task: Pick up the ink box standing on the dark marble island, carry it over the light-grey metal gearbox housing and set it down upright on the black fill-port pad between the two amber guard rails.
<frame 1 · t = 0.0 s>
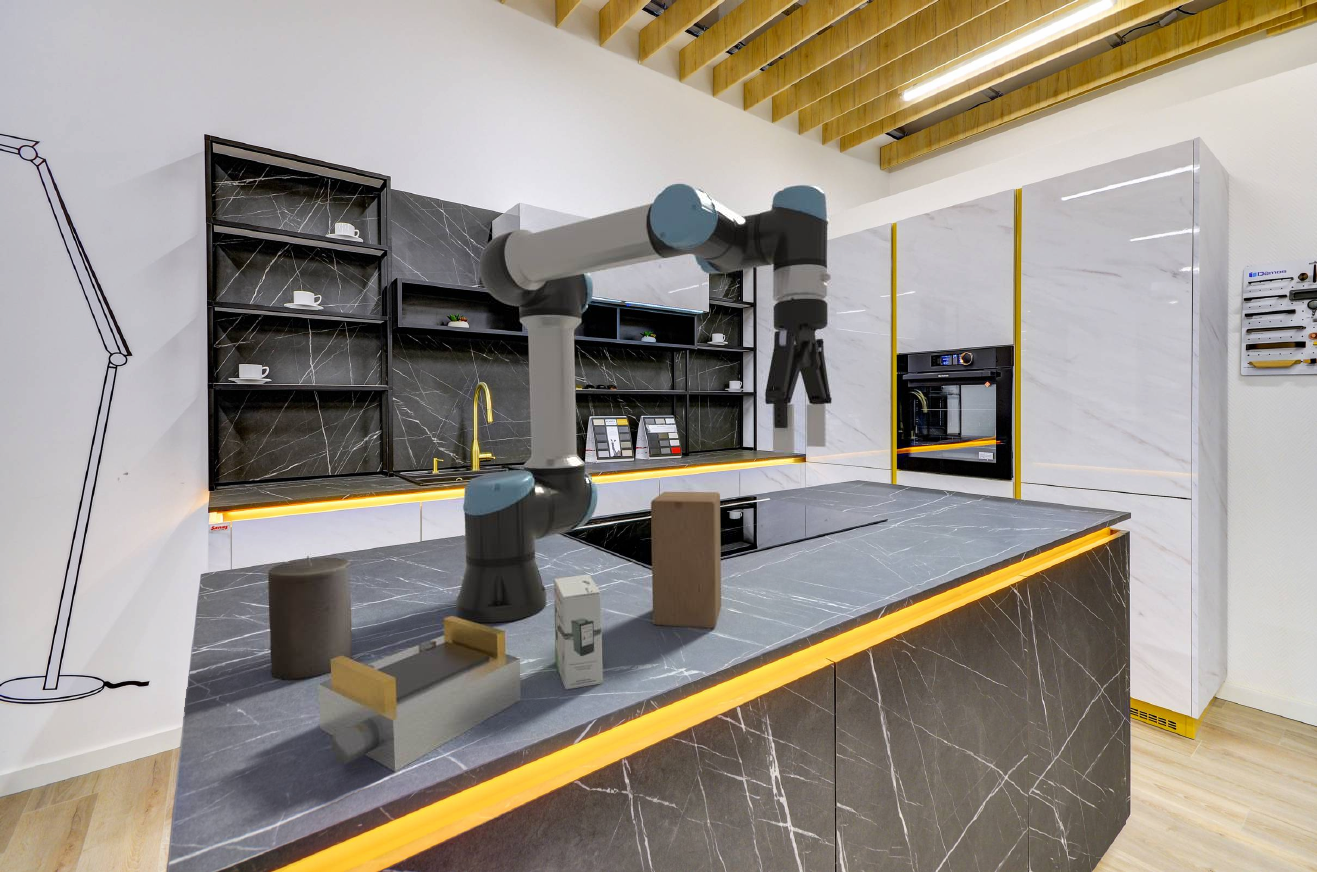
hand: (801, 449, 83), 28 cm above the counter, fingers open, 13 cm apart
gearbox housing: (424, 713, 65), on the counter
wooden block: (688, 617, 95), on the counter
pillar candle: (314, 665, 79), on the counter
ink box: (578, 674, 75), on the counter
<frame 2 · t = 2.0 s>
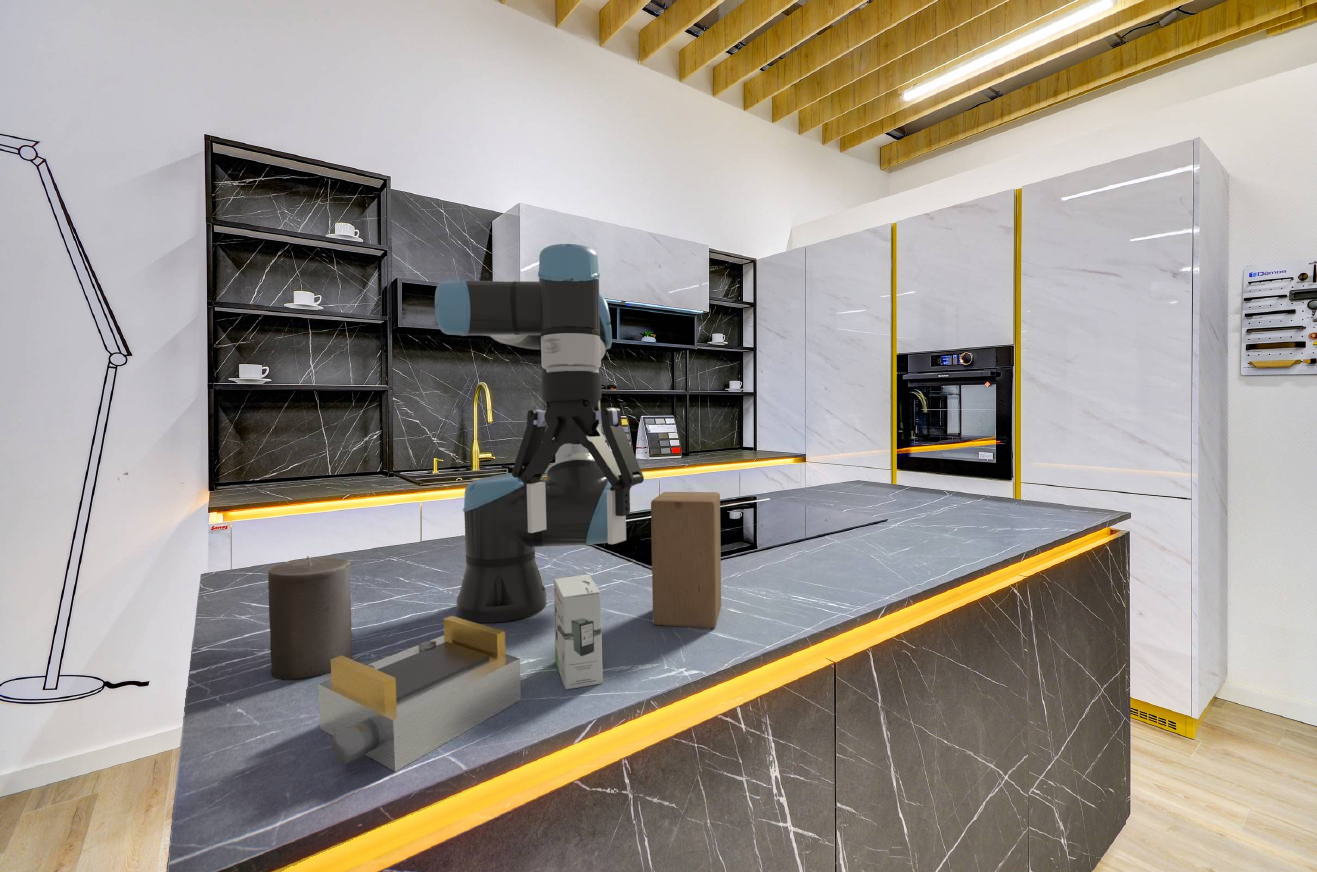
hand: (575, 536, 74), 18 cm above the counter, fingers open, 13 cm apart
nothing on the counter moved.
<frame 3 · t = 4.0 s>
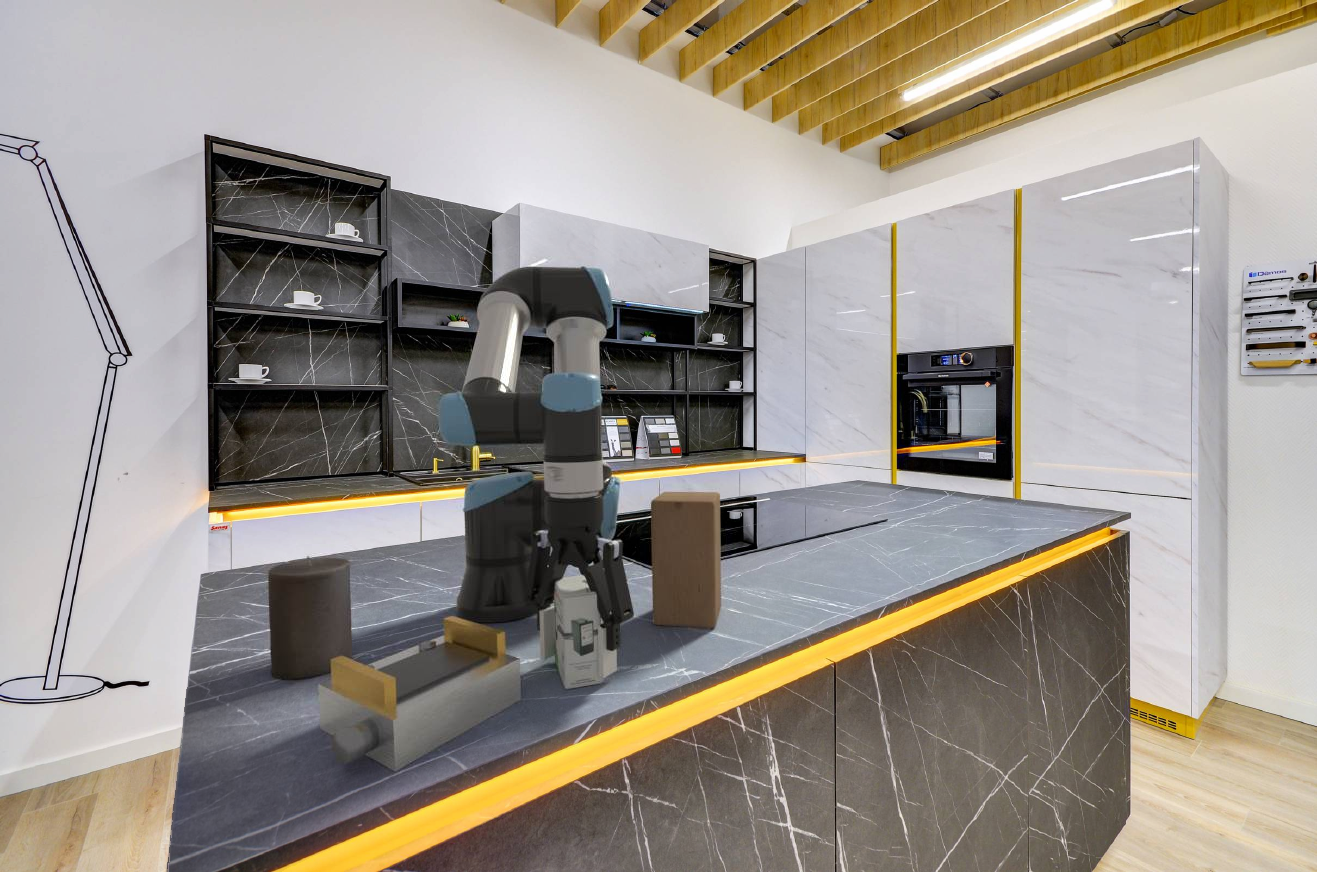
hand: (577, 664, 75), 1 cm above the counter, fingers closed on ink box, 9 cm apart
ink box: (577, 673, 75), on the counter, touching gripper
everything else where it was.
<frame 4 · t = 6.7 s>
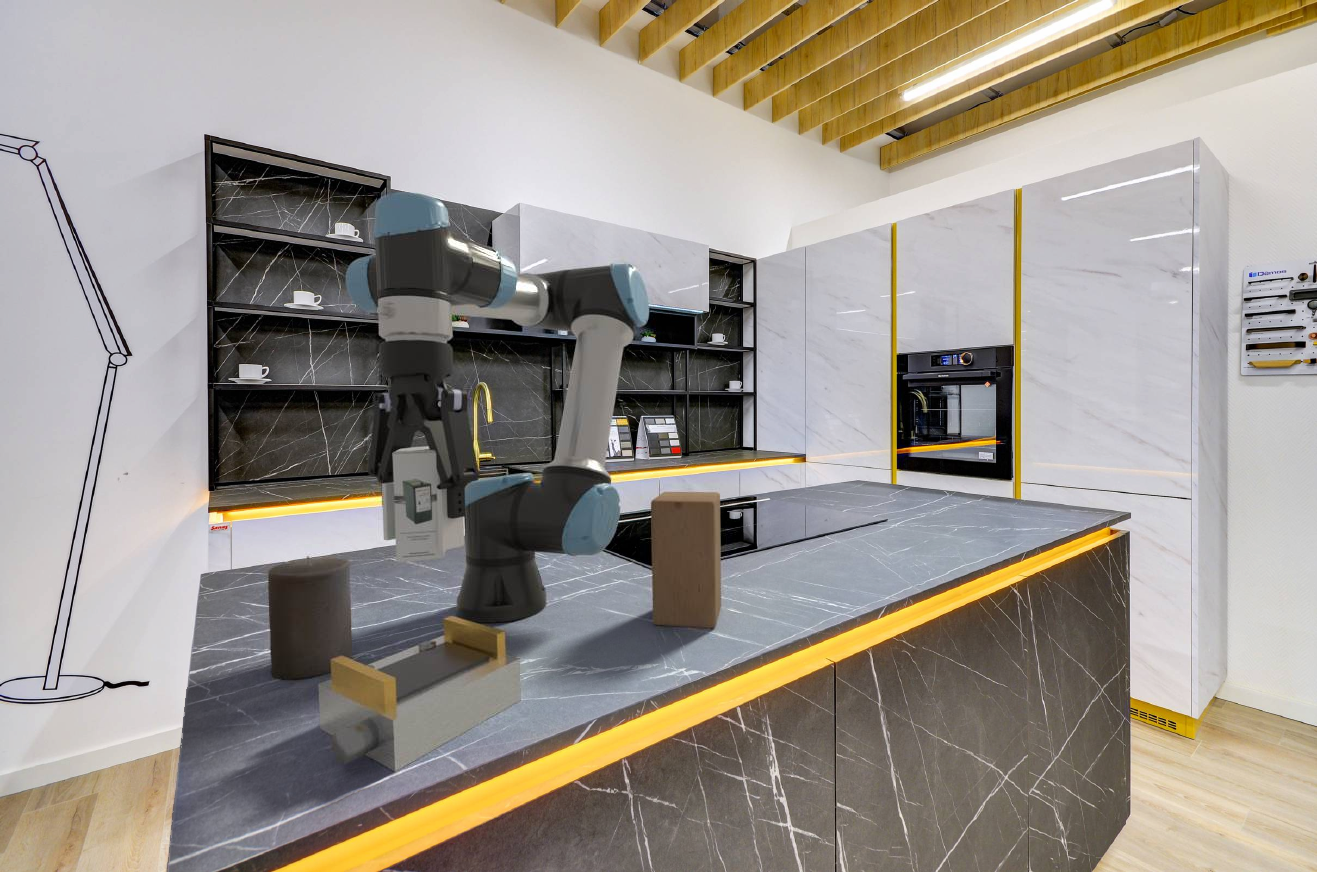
hand: (422, 542, 65), 20 cm above the counter, fingers closed on ink box, 9 cm apart
ink box: (422, 553, 65), point 18 cm above the counter, touching gripper
everything else where it was.
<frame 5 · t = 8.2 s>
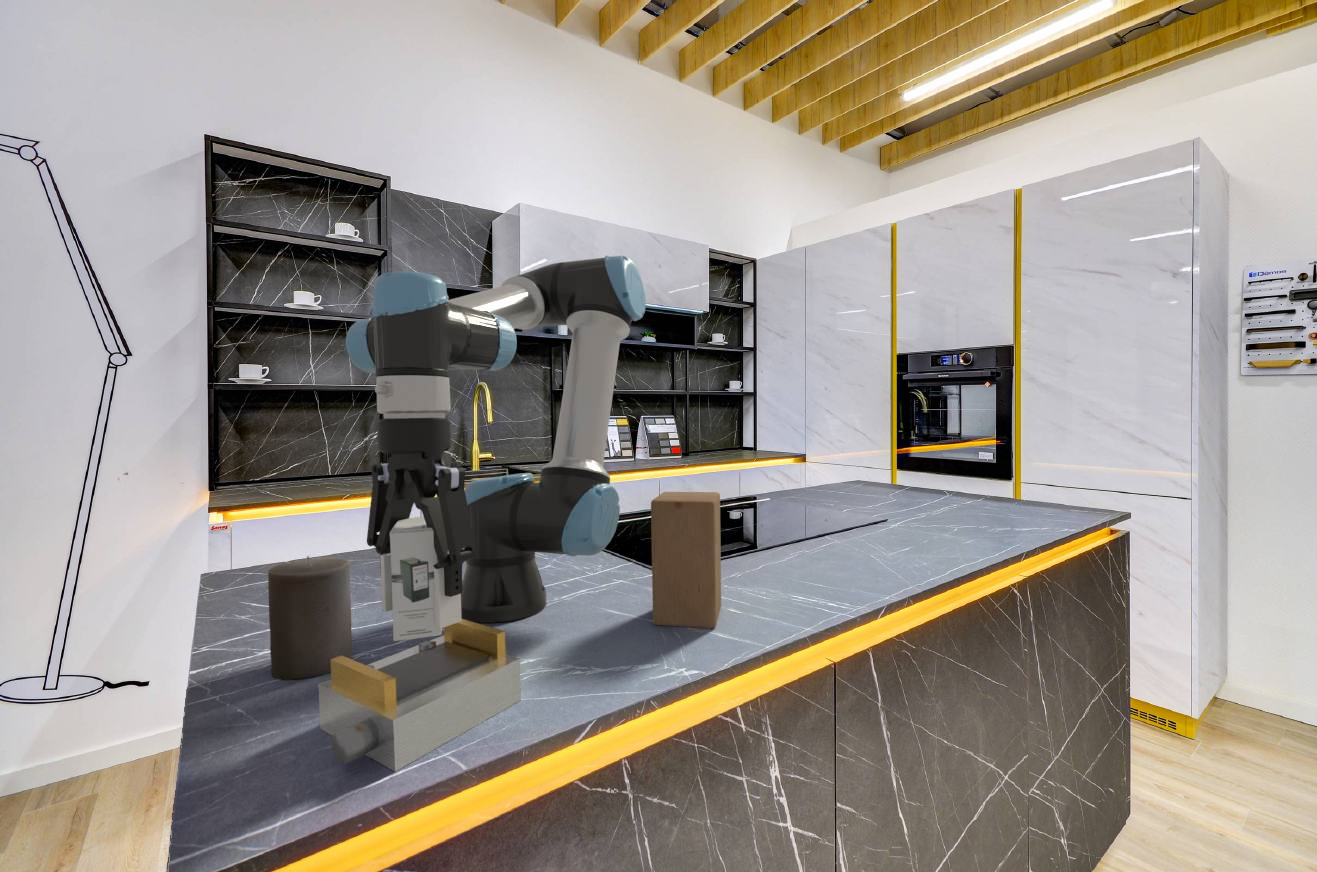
hand: (420, 615, 65), 11 cm above the counter, fingers closed on ink box, 9 cm apart
ink box: (420, 627, 65), point 10 cm above the counter, touching gripper
everything else where it was.
when the fingers open (8 cm above the counter, at t = 9.4 s): ink box drops 1 cm, resting on gearbox housing.
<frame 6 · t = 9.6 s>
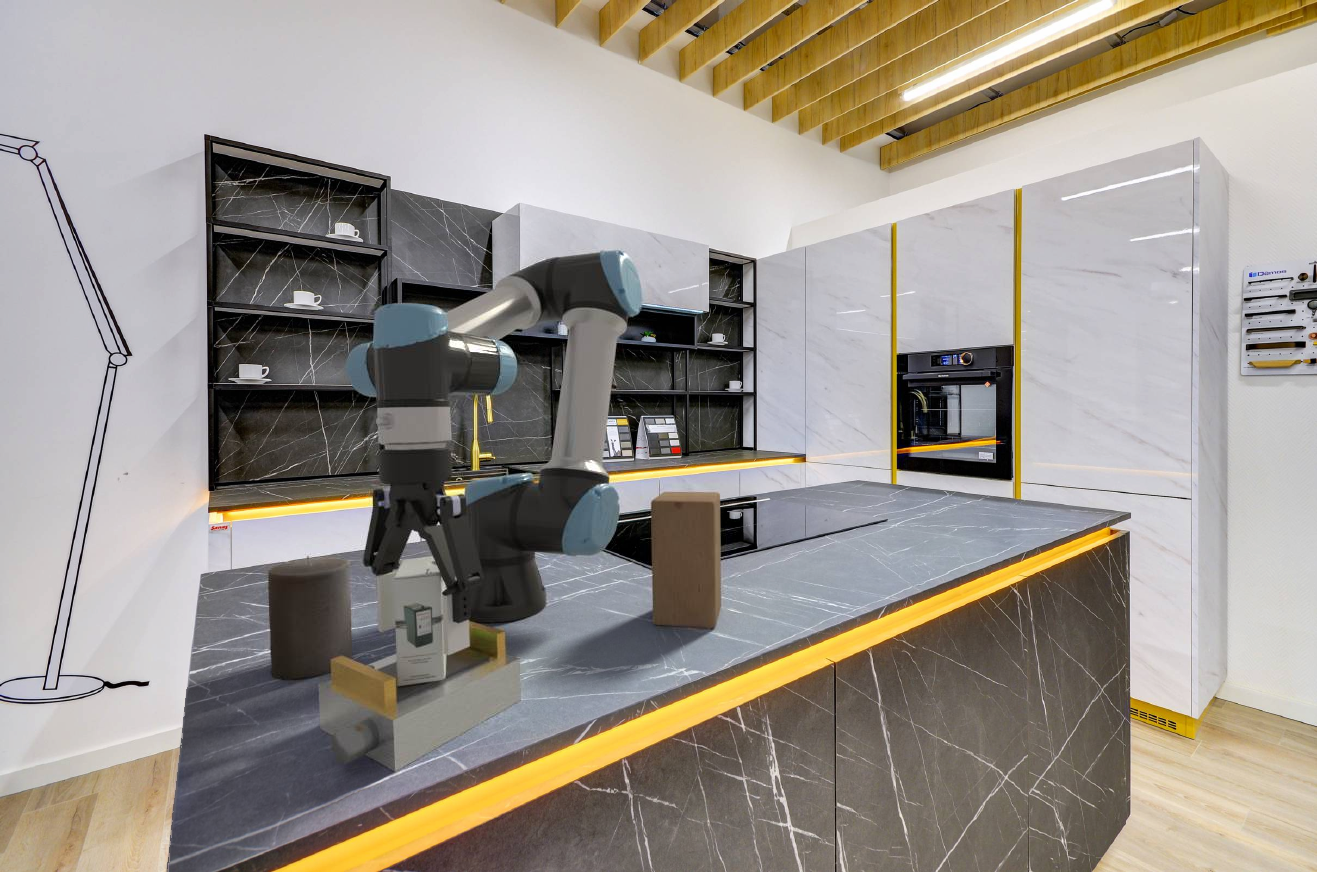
hand: (422, 638, 65), 9 cm above the counter, fingers open, 11 cm apart
ink box: (424, 668, 65), point 5 cm above the counter, touching gearbox housing
everything else where it was.
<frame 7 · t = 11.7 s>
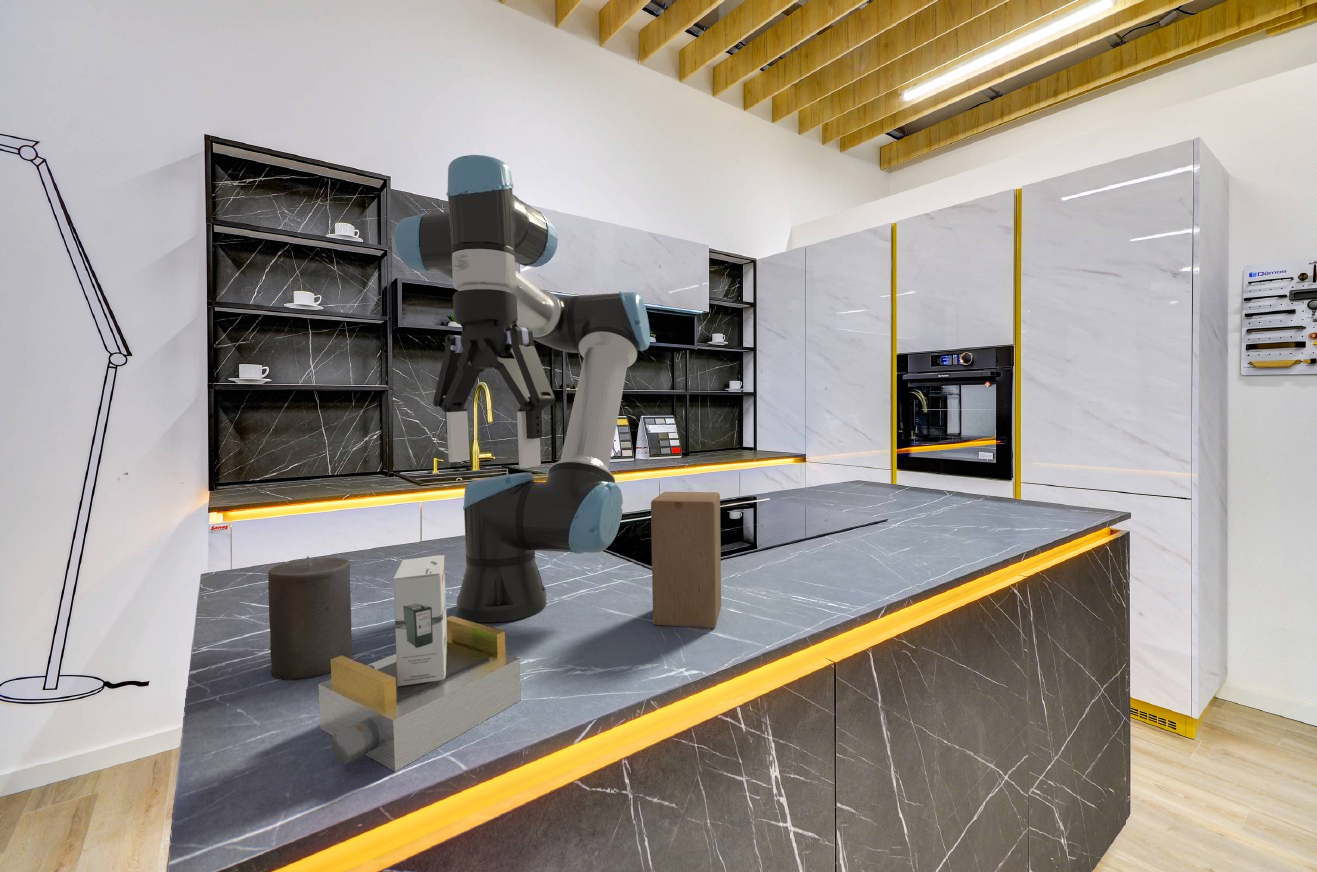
hand: (492, 463, 72), 28 cm above the counter, fingers open, 13 cm apart
nothing on the counter moved.
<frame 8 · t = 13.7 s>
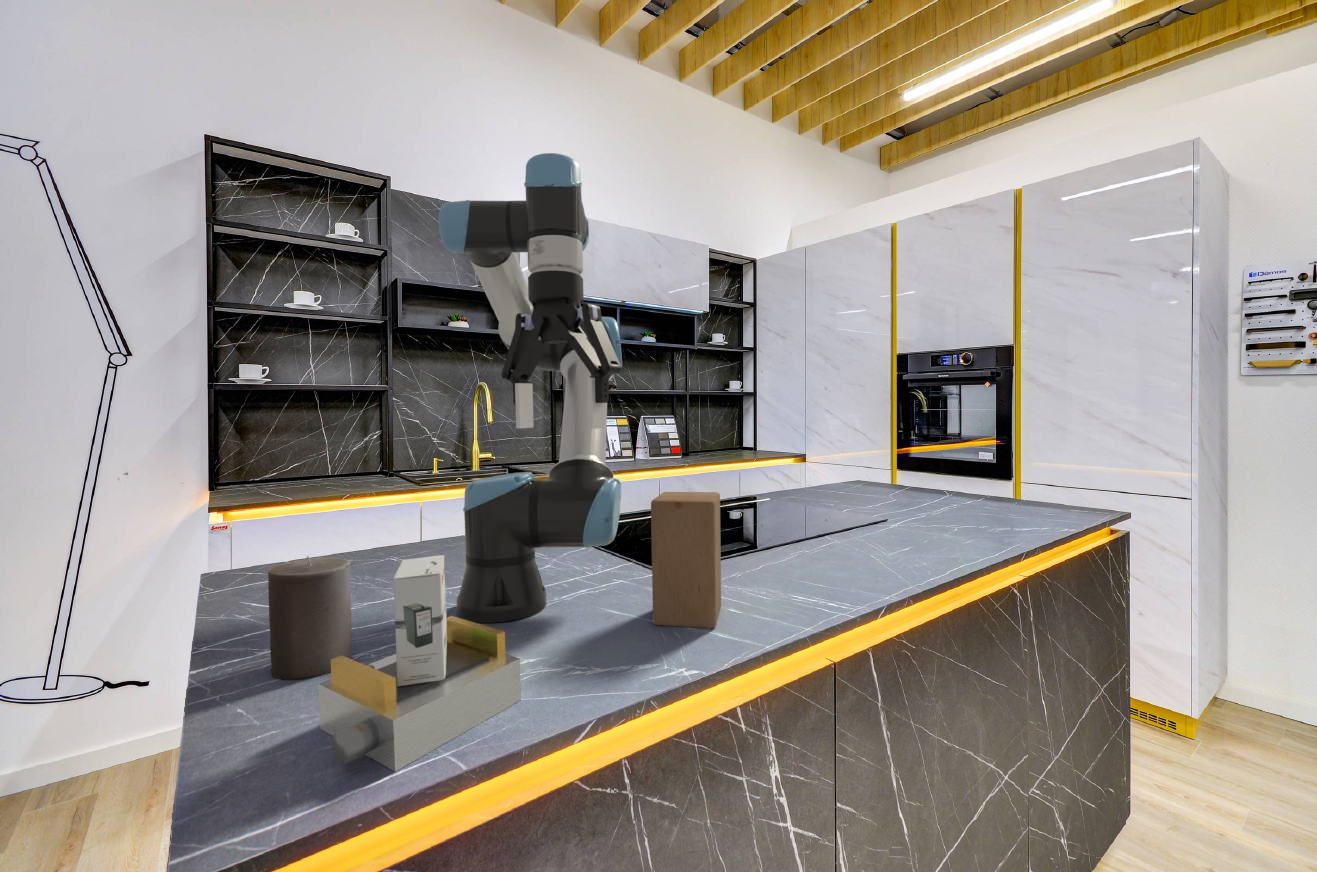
hand: (559, 428, 80), 32 cm above the counter, fingers open, 13 cm apart
nothing on the counter moved.
at the end: ink box inside the target area on the gearbox housing (0.1 cm from its centre), point 5.2 cm above the gearbox housing's base; ink box tilted 0°; the gripper is holding nothing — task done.
